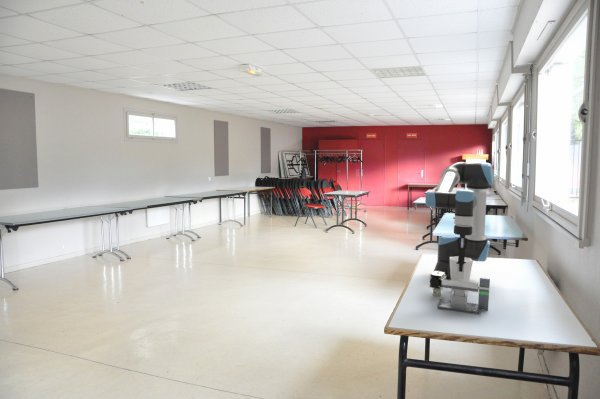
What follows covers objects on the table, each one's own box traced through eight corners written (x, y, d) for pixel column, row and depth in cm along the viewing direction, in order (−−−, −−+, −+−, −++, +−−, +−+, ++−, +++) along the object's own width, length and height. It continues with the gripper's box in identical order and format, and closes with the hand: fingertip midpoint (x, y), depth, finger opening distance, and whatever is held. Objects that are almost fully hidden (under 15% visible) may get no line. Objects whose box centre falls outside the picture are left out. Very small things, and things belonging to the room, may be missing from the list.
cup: (472, 297, 204) (474, 262, 203) (449, 295, 206) (451, 260, 205) (467, 290, 215) (469, 257, 214) (446, 288, 217) (448, 255, 216)
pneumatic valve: (428, 297, 202) (429, 272, 201) (435, 291, 212) (436, 267, 211) (440, 299, 200) (441, 274, 198) (446, 293, 209) (447, 269, 208)
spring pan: (487, 298, 189) (488, 284, 188) (488, 304, 181) (489, 290, 180) (442, 292, 196) (442, 279, 195) (440, 298, 188) (441, 284, 187)
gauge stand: (487, 307, 190) (489, 276, 189) (488, 315, 180) (490, 283, 179) (439, 301, 198) (440, 271, 196) (437, 308, 188) (439, 277, 186)
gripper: (454, 222, 193) (451, 273, 196) (453, 226, 181) (450, 280, 184) (472, 223, 191) (469, 275, 193) (472, 228, 179) (469, 283, 181)
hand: (460, 278), depth 188 cm, fingers closed
